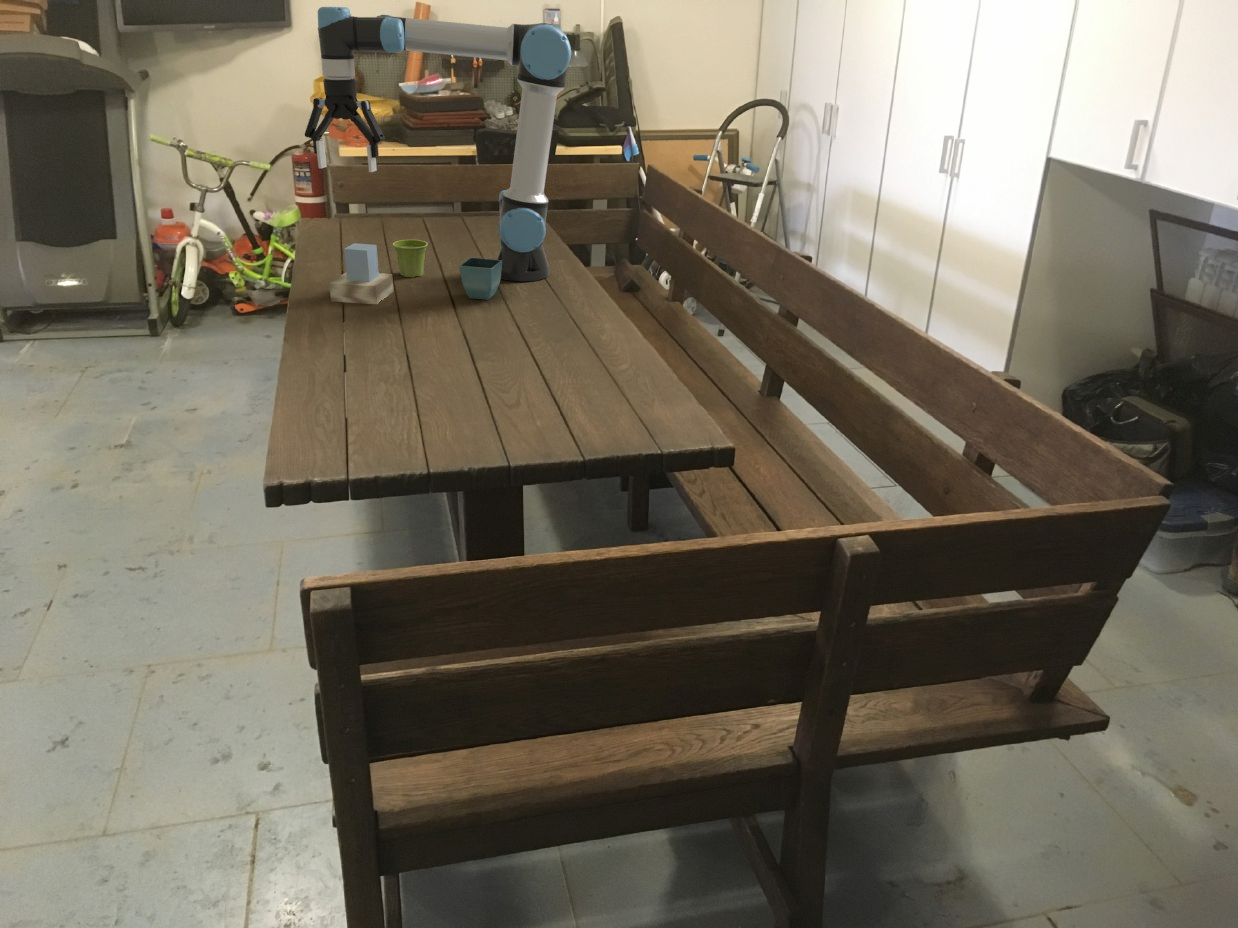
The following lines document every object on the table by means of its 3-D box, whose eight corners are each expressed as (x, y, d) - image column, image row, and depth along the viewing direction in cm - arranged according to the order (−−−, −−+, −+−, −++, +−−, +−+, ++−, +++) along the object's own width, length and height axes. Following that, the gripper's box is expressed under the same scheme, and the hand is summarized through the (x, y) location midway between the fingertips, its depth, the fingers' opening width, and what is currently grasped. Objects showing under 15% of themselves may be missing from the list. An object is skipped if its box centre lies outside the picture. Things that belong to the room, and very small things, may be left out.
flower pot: (493, 303, 250) (492, 268, 246) (459, 300, 251) (458, 265, 247) (503, 294, 258) (502, 259, 254) (471, 291, 259) (470, 257, 255)
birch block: (393, 292, 257) (392, 273, 255) (377, 305, 246) (375, 286, 244) (349, 289, 258) (347, 271, 256) (331, 302, 248) (329, 283, 245)
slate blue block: (379, 276, 253) (376, 245, 249) (369, 282, 247) (366, 250, 244) (356, 274, 253) (353, 243, 250) (347, 280, 248) (343, 249, 245)
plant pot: (433, 271, 275) (431, 240, 272) (424, 280, 267) (422, 248, 263) (400, 269, 276) (398, 238, 272) (390, 278, 268) (388, 246, 264)
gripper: (394, 79, 237) (400, 170, 246) (300, 74, 242) (309, 164, 251) (380, 81, 230) (387, 175, 239) (283, 76, 235) (294, 168, 244)
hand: (347, 169), depth 245 cm, fingers open, 13 cm apart
